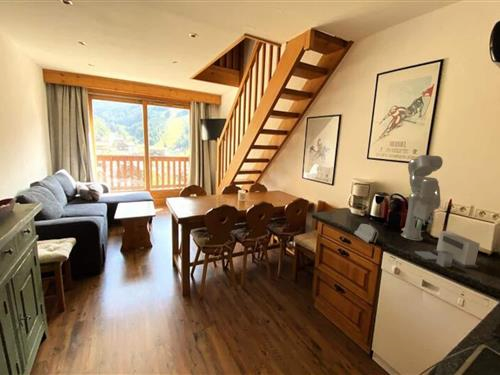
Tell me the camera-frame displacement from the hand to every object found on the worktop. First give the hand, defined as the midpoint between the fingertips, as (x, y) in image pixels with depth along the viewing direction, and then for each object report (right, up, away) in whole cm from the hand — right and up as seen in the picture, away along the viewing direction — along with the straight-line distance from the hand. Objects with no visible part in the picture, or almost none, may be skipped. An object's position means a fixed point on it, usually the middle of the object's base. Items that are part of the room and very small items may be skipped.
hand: (420, 228), depth 149 cm
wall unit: (+13, -16, -9) cm, 22 cm away
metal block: (+1, -16, -17) cm, 24 cm away
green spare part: (0, -1, 0) cm, 1 cm away
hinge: (-25, -9, +17) cm, 32 cm away
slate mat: (-1, -14, -7) cm, 16 cm away
